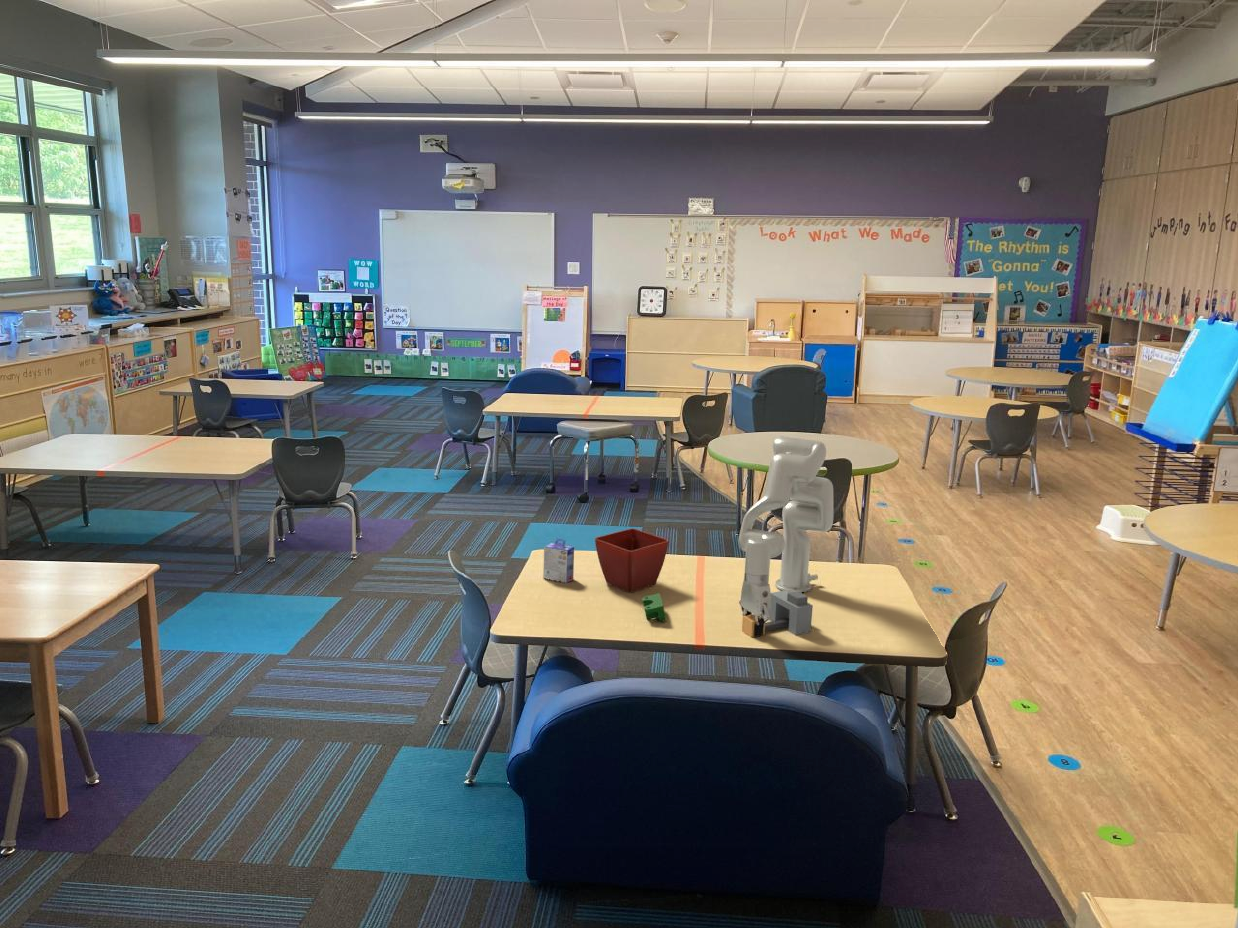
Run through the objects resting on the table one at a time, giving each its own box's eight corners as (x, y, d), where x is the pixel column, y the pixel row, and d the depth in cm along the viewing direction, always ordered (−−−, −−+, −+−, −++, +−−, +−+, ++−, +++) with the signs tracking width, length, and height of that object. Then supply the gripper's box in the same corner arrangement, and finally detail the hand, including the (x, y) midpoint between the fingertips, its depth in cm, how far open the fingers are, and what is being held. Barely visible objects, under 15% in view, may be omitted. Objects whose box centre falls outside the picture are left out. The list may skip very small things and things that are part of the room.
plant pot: (592, 582, 331) (593, 537, 327) (631, 571, 343) (633, 527, 339) (628, 598, 317) (630, 551, 313) (668, 585, 329) (670, 540, 326)
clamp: (648, 624, 307) (642, 597, 308) (665, 620, 307) (659, 593, 308) (647, 624, 295) (641, 596, 296) (666, 620, 295) (659, 592, 296)
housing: (783, 616, 305) (785, 583, 303) (810, 631, 293) (813, 597, 291) (768, 618, 303) (770, 585, 300) (795, 635, 291) (798, 600, 288)
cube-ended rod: (797, 619, 303) (798, 602, 301) (807, 625, 298) (808, 607, 297) (741, 631, 292) (742, 613, 291) (751, 637, 288) (752, 618, 287)
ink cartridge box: (574, 578, 333) (575, 540, 330) (567, 583, 329) (567, 544, 325) (550, 574, 338) (550, 536, 334) (542, 578, 333) (543, 540, 329)
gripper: (783, 584, 282) (779, 640, 286) (750, 566, 296) (746, 620, 300) (763, 588, 278) (759, 644, 282) (730, 570, 293) (727, 624, 297)
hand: (752, 631), depth 291 cm, fingers closed on cube-ended rod, 5 cm apart
